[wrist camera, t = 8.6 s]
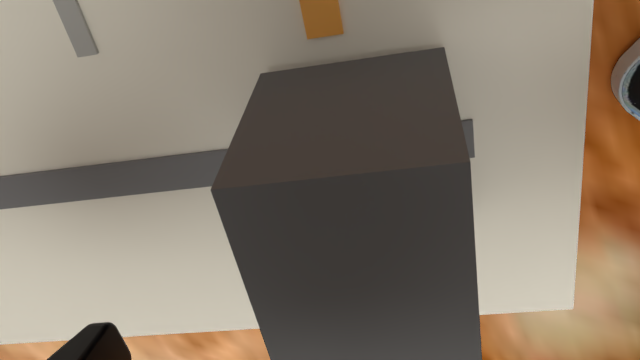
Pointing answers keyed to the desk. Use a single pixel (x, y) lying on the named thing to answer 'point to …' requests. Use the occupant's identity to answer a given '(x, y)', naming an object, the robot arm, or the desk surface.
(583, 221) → the desk surface
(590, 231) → the desk surface
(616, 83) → the smartphone
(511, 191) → the block
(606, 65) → the desk surface
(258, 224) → the block
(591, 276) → the desk surface
